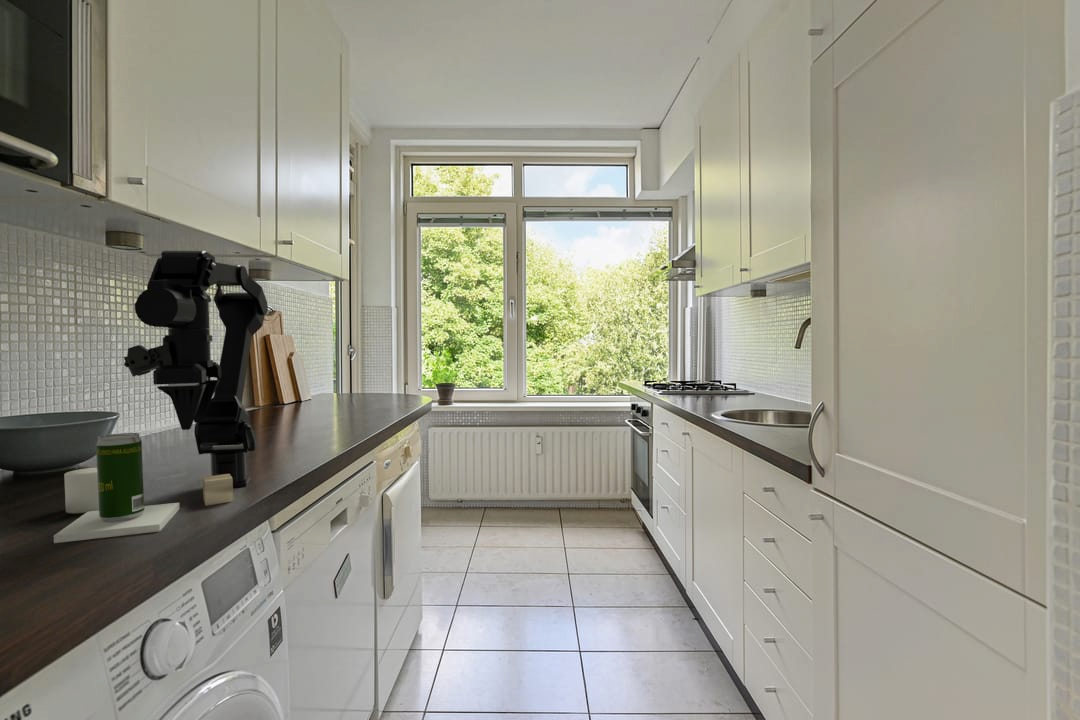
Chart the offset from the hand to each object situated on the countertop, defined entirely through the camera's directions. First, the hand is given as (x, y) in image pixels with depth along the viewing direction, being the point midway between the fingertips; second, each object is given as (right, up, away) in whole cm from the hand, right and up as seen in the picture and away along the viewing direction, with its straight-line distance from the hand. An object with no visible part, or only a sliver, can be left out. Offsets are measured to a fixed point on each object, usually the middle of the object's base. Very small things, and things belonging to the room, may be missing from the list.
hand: (192, 425), depth 93 cm
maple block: (+2, -13, +3) cm, 14 cm away
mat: (-5, -13, -9) cm, 17 cm away
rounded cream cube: (-17, -13, 0) cm, 22 cm away
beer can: (-5, -13, -9) cm, 16 cm away
